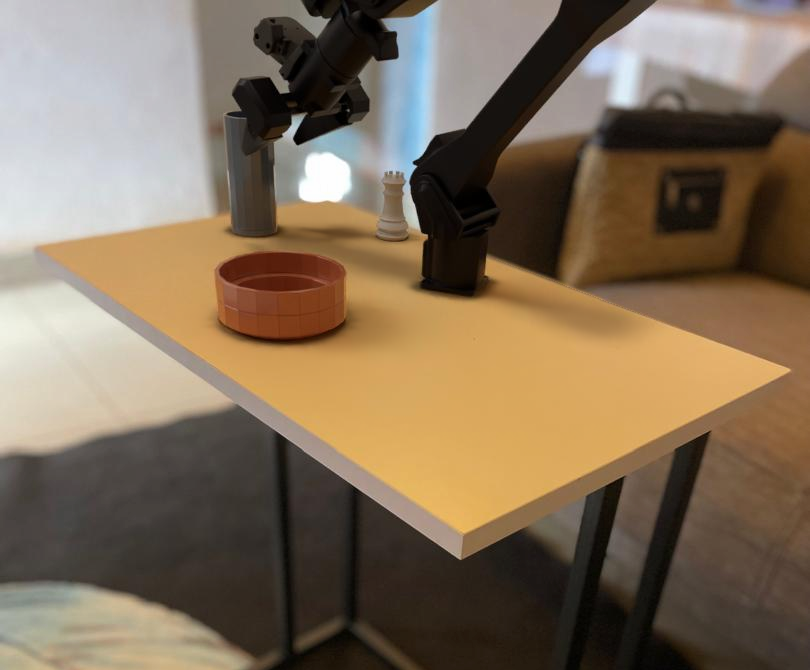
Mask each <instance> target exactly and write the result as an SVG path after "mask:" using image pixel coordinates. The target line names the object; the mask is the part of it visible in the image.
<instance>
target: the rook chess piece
mask: <svg viewBox="0 0 810 670" xmlns="http://www.w3.org/2000/svg"><path fill="white" fill-rule="evenodd" d="M383 174H384V176H383V177H382V179H381V183H382V184H383V186H384V190H383V191H382V195H383V206H382V211H381V215H379V219H378V220H377V223H376V228H377V229H376V231H375V235H376V236H377V237H378V238H379V239H380V240H384V241H390V242H391V241H392V242H397V241H403V240H405V239H407V237H409V234H410V233H409V231H407V230H408V229H409V223H408V221H407V220H406V216H405V213H404V205H403V203H404V202H403V197H404V195H405V192H404V190H403V189H404V186H405V185H406V184H407V180H406V178H405V173H404V172H403V171H400V170H396V171H395V173H394V170H388V171H384V173H383Z"/></svg>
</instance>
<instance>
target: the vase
mask: <svg viewBox="0 0 810 670" xmlns="http://www.w3.org/2000/svg"><path fill="white" fill-rule="evenodd" d="M245 123H246V117H245V115H244V114H243V112H242V111H241V109H240V110H238V109H237V110H229V111H225V112H223V113H222V126H223V137H224V150H225V164H226V176H227V188H228V189H227V190H228V203H229V216H230V217H229V218H230V225H231V232H232V233H233V234H235V235H238V236H242V237H249V238H250V237H251V238H258V237H259V238H260V237H268V236H273V235H275V234H276V233H277V232H278V204H277V202H278V201H277V182H276V181H277V180H276V162H275V161H276V160H275V142H273V143H271V144H269V145H268V146H266V147H264V148H262V149H260V150H258V151H256V152H254V153H252V154H250V155H248V156H245V155H244V153H243V152H242V150H241V145H242V140H243V134H244V129H245Z"/></svg>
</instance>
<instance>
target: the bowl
mask: <svg viewBox="0 0 810 670" xmlns="http://www.w3.org/2000/svg"><path fill="white" fill-rule="evenodd" d="M213 272H214V284H215V285H214V286H215V297H216V306H217V307H216V309H217V316H218V320H219V321H220V322H221V323H222V324H224V326H226V327H228V328H230V329H232V330H234V331H236V332H238V333H241V334H243V335H246V336H250V337H254V338H258V339H265V340H266V339H267V340H280V341H281V340H284V341H285V340H298V339H305V338H310V337H316V336H318V335H322V334H324V333H326V332H328V331H331V330H332V329H335V328H336V327H338V326H339V325H341V324H342V323H343V322H344V321H345V319H346V317H347V311H348V310H347V309H348V308H347V307H348V306H347V305H348V303H347V302H348V301H347V300H348V299H347V290H348V289H347V288H348V286H347V285H348V284H347V282H348V281H347V280H348V279H347V278H348V277H347V276H348V275H347V274H348V273H347V270H346V268H345V267H344V265H343V264H342V263H340V262H338V261H337V260H335V259H333V258H330V257H327V256H325V255H321V254H317V253H310V252H304V251H293V250H262V251H255V252H250V253H249V252H248V253H243V254H238V255H235V256H231V257H229V258H227V259H225V260H223V261H220V262H219V263H218V264H217V265H216V267H215V268H214V269H213Z"/></svg>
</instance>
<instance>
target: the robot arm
mask: <svg viewBox="0 0 810 670" xmlns="http://www.w3.org/2000/svg"><path fill="white" fill-rule="evenodd" d="M438 1H439V0H300V2H301V4H302V5H303V7H304V9H305V10H306V12H307V14H308V15H309V16H310V17H312V18H319V17H321V18H322V19H324V20H328V22H327V23H326V25H325V26H324V28H323V29H322V30H321V31H320V33H319V34H318V36H317V37H316V35H314V34H313V33H312V32H311V31H309V30H308V29H307V28H306V27H305V26H303V25H302V24H301V23H300V22H299V21H297V20H296V19H295V18H293V17H290V16H268V17H263V18H262V19H260V20H259V23H258V24H257V26H254V28H253V36H252V42H253V45H254V46H255V47H256V48H257V49H259V50H260V51H261V52H262V54H264V55H266V56H270V57H271V58H272V59H273V60H274V61H276V62H277V63H278V65H281V67H280V68H279V69H278V73H279V75H280V76H281V78H282V79H283V81H287V83H288V84H287V88H288V92H280V91H279V89H278V88H277V86H276V84H275V83H274V81H273V80H272V77H271V76H264V75H256V76H246V77H239V79H238V81H237V82H236V83H235V85H234V86H233V88H232V90H231V96H232V98H233V100H234V101H235V102H236V104H237V106H238V107H239V109H240V110H241V111H242V112H243V114H244V115H245V117H246V123H245V129H244V134H243V140H242V145H241V150H242V152H243V153H244V155H245V156H248V155H250V154H252V153H254V152H256V151H258V150H260V149H262V148H264V147H266V146H268V145H269V144H271V143H273V142H274V143H275V142H278V141H279V140H281V139H283V138H284V135H283V134H285V133H286V132H288V130H289V129H290V128H291V126H292V125H293V117H299V116H304V117H303V118H302V120H301V122H300V123H299V125H298V126H297V128H296V130H295V133H294V135H293V136H292V141H293V142H294V144H295V146H296V147H297V146H301V145H304V144H306V143H309V142H311V141H314V140H316V139H318V138H321V137H323V136H326V135H328V134H330V133H333V132H336V131H338V130H341V129H344V128H346V127H349V126H350V127H351V126H352V125H353V124H354V123H359V122H362V121H363V120H364V119H365V117H366V116H367V115H368V114H369V113H370V110H371V109H370V107H371V106H370V105H371V99H370V97H369V96H368V94H367V92H366V90H365V89H364V88H363V86H362V81H361V79H360V78H359V76H360V74H361V73H362V72H363V70H364V69H365V68H366V67H367V65H368V64H369V63H370V62H371V60H372V59H373V58H374V60H375V61H376V62H386V61H396V60H398V59H399V57H400V53H399V52H400V51H399V44H398V32H397V31H396V30H389V29H388V28H387V26H386V24H385V23H384V21H383V20H385V19H404V18H406V19H407V18H413V17H415V16H418V15H419V14H420V13H422V12H423V11H425V10H426V9H427V8H430V7H431V6H432V5H434V4H435V3H437V2H438ZM657 1H658V0H561V1H560V4H559V7H558V10H557V13H556V15H555V17H554V18H553V20H552V21H551V23H550V24H549V25H548V26H547V28H546V29H545V30H544V31H543V33H542V34H541V35H540V36H539V38H538V39H537V40H536V41H535V43H533V45H532V46H531V47H530V49H529V50H528V51H527V52H526V53H525V55H524V56H523V57H522V59H521V60H520V61H519V62H518V63H517V65H516V66H515V67H514V68H513V70H512V71H511V72H510V74H508V76H507V78H505V80H504V81H503V82H502V84H500V86H499V87H498V89H497V90H496V91H495V92H494V93H493V95H492V96H491V97H490V98H489V99H488V101H487V102H486V103H485V104H484V105H483V107H482V108H481V110H480V111H479V112H478V113H477V114H476V116H475V117H474V118H473V120H471V122H470V123H469V124H468V125H467V127H465V128H459V129H455V130H452V131H446V132H443V133H439V134H435V135H434V136H433V137H432V138H431V140H430V141H429V143H428V144H427V147H426V148H425V150H424V152H423V153H422V155H420V156H419V157H418V158H416V159H415V160H413V161H412V165H413V166H416V167H415V168H414V169H413V170H412V173H411V175H410V177H409V181H408V184H409V188H410V193H409V194H410V196H411V200H412V203H413V204H414V208H415V213H416V215H417V221H418V225H419V229H420V233H421V234H423V235H425V236H426V235H427V238H426V239H425V240H423V242H422V254H421V255H422V256H421V257H422V258H421V277H422V278H423V279H421V280H420V281H419V287H420V288H424V289H430V290H435V291H441V292H447V293H451V294H457V295H464V296H471V297H472V296H474V295H475V294H476V293H477V292H478V291H480V289H481V288H483V286H484V285H486V284H487V283H488V282H489V280H490V276H489V275H486V265H487V254H488V247H489V246H488V245H489V236H490V235H489V234H490V230H489V229H488V228H492V227H495V226H496V225H497V222H498V220H499V217H500V215H501V213H502V208H501V206H500V204H499V203H498V201H497V200H496V198H495V196H494V195H493V193H492V192H491V191H490V189H489V187H488V185H489V184H490V183H491V181H492V179H493V177H494V175H495V171H496V168H497V164H498V161H499V158H500V157H501V155H502V154H503V152H504V151H505V150H506V149H507V148H508V147H509V146H510V144H511V143H512V142H513V141H514V140H515V139H516V138H517V136H518V135H519V134H520V133H521V132H522V130H523V129H525V127H526V126H527V125H528V124H529V123H530V122H531V120H532V119H533V118H534V117H535V116H536V115H537V114H538V113H539V111H541V109H542V108H543V107H544V105H546V103H547V102H548V101H549V100H550V98H552V96H554V94H555V93H556V91H557V90H558V89H560V87H561V86H562V85H563V84H564V82H565V81H566V80H567V79H568V78H569V77H570V76H571V74H572V73H573V72H574V71H575V70H576V69H577V67H579V65H580V64H581V63H582V62H583V61H584V60H585V58H587V56H588V55H589V54H590V53H591V51H593V50H594V49H595V48H597V46H598V45H600V44H601V43H603V42H604V41H606V40H607V39H609V38H610V37H612V36H614V35H615V34H617V33H618V32H619V31H621V30H623V29H624V28H625V27H627V26H628V25H630V24H631V23H632V22H633V21H635V19H637V18H638V17H640V15H642V14H643V13H644V12H645V11H647V10H648V9H649V8H650V7H652V6H653V5H654V4H655V3H657Z"/></svg>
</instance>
